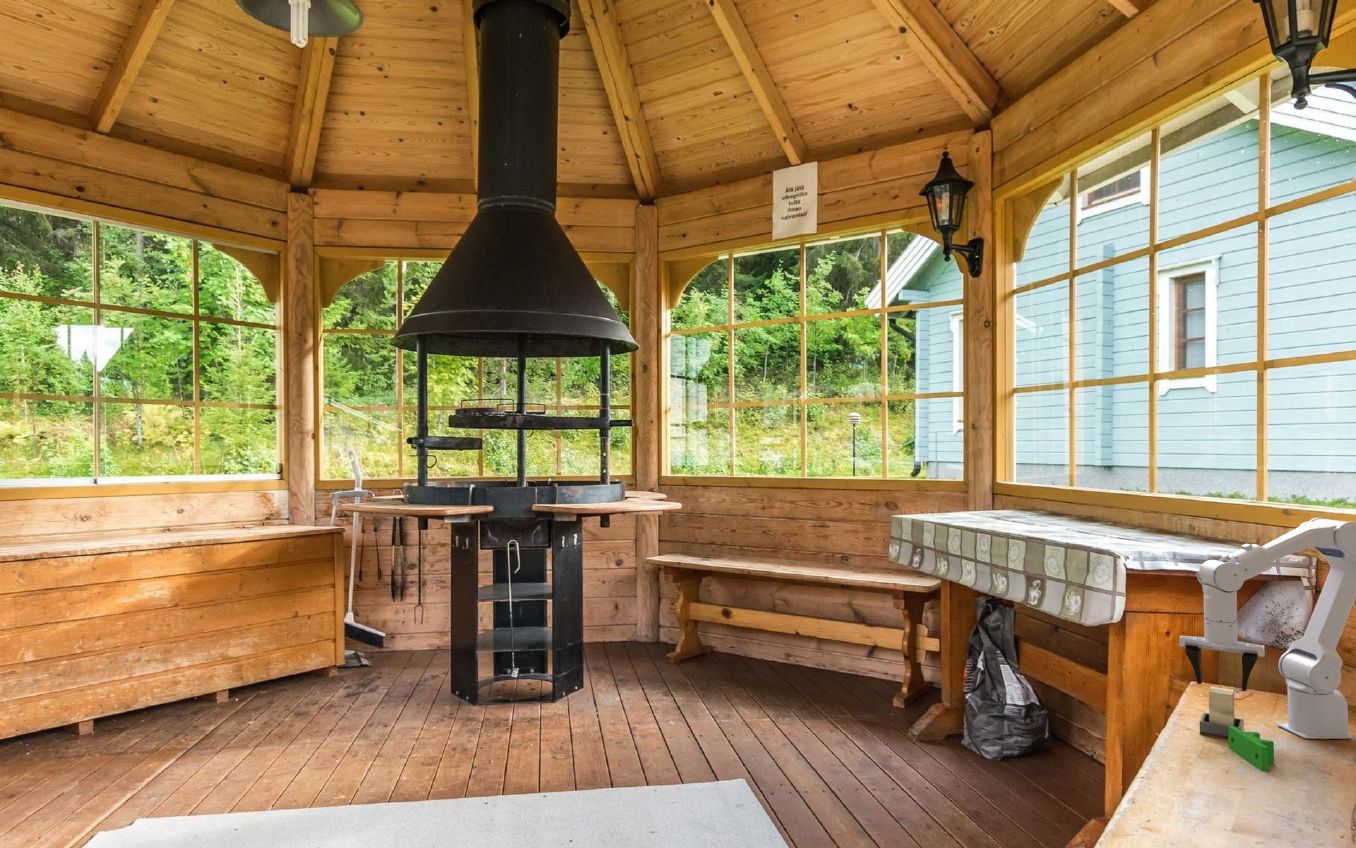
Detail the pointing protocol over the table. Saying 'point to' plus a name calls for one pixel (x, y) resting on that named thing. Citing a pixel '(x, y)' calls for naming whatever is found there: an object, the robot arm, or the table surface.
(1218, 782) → the table surface
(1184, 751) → the table surface
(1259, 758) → the pipe clamp
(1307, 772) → the table surface
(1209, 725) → the dark gray open tray
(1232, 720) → the rail post
